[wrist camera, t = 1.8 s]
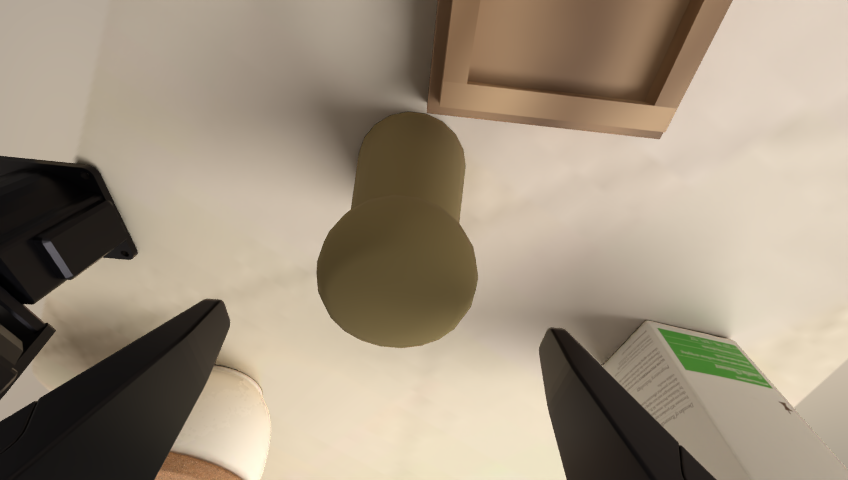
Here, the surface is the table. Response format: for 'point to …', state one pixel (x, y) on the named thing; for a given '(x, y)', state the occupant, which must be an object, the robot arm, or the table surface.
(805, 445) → the skincare box
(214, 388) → the lidded bowl
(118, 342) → the table surface
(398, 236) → the olive pear-shaped figure
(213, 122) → the table surface
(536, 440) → the table surface
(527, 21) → the square wooden tray
